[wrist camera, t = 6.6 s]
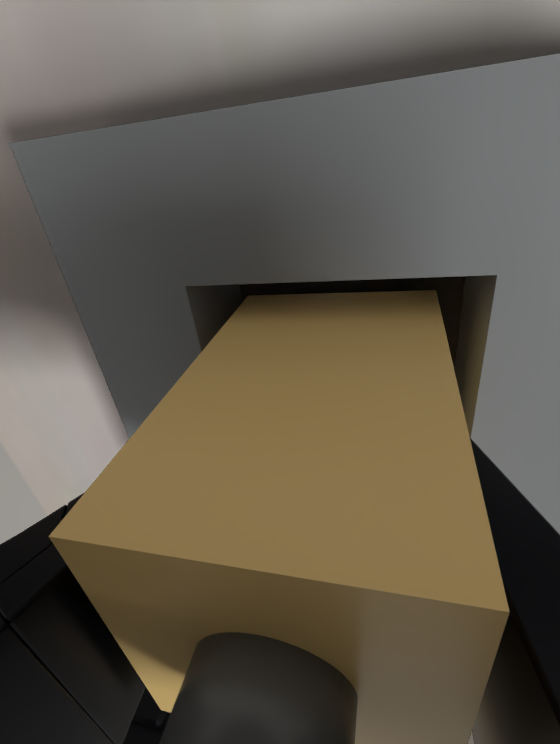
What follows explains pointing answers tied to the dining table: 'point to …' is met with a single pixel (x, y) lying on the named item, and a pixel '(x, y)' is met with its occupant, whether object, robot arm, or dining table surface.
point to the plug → (302, 533)
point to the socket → (328, 232)
